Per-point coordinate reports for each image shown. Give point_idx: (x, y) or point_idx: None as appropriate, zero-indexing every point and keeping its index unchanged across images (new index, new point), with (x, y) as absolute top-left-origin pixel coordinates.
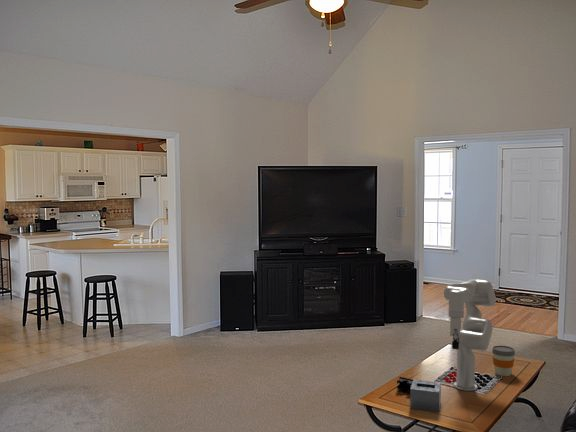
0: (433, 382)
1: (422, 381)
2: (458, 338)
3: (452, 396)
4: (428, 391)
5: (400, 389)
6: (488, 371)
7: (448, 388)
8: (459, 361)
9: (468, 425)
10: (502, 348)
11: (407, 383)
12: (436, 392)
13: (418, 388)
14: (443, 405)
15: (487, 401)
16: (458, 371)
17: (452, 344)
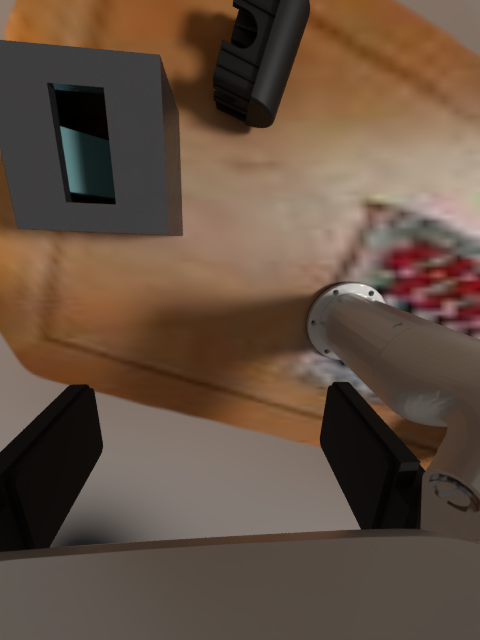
0: (153, 193)
1: (144, 123)
2: (355, 507)
3: (245, 278)
4: (6, 167)
5: (234, 29)
6: None
7: (320, 263)
8: (390, 336)
9: (13, 329)
10: None
11: (222, 45)
12: (15, 213)
13: (13, 99)
14: (147, 247)
15: (234, 382)
16: (363, 314)
17: (28, 428)
